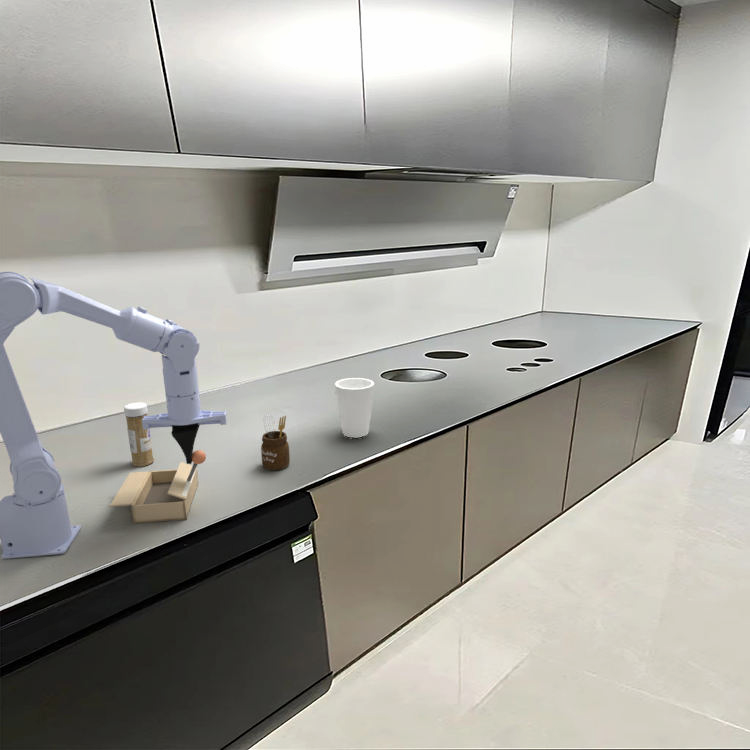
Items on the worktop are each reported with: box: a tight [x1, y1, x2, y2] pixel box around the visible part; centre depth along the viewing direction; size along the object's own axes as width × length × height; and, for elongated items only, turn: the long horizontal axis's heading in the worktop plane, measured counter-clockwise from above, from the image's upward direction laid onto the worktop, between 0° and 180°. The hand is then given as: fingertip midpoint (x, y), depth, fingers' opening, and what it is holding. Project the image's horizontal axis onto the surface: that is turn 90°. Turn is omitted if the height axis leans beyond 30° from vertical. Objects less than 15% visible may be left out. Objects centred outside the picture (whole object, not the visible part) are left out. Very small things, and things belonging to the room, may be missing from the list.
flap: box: [167, 449, 207, 500], centre depth 104 cm, size 4×13×7 cm, turn 6°
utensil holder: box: [260, 414, 291, 471], centre depth 119 cm, size 6×6×12 cm
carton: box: [109, 468, 199, 525], centre depth 104 cm, size 13×14×4 cm
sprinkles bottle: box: [123, 401, 155, 468], centre depth 120 cm, size 5×5×13 cm
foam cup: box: [334, 377, 375, 438], centre depth 136 cm, size 10×9×13 cm
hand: (190, 461), depth 104 cm, fingers closed, pressing on flap
